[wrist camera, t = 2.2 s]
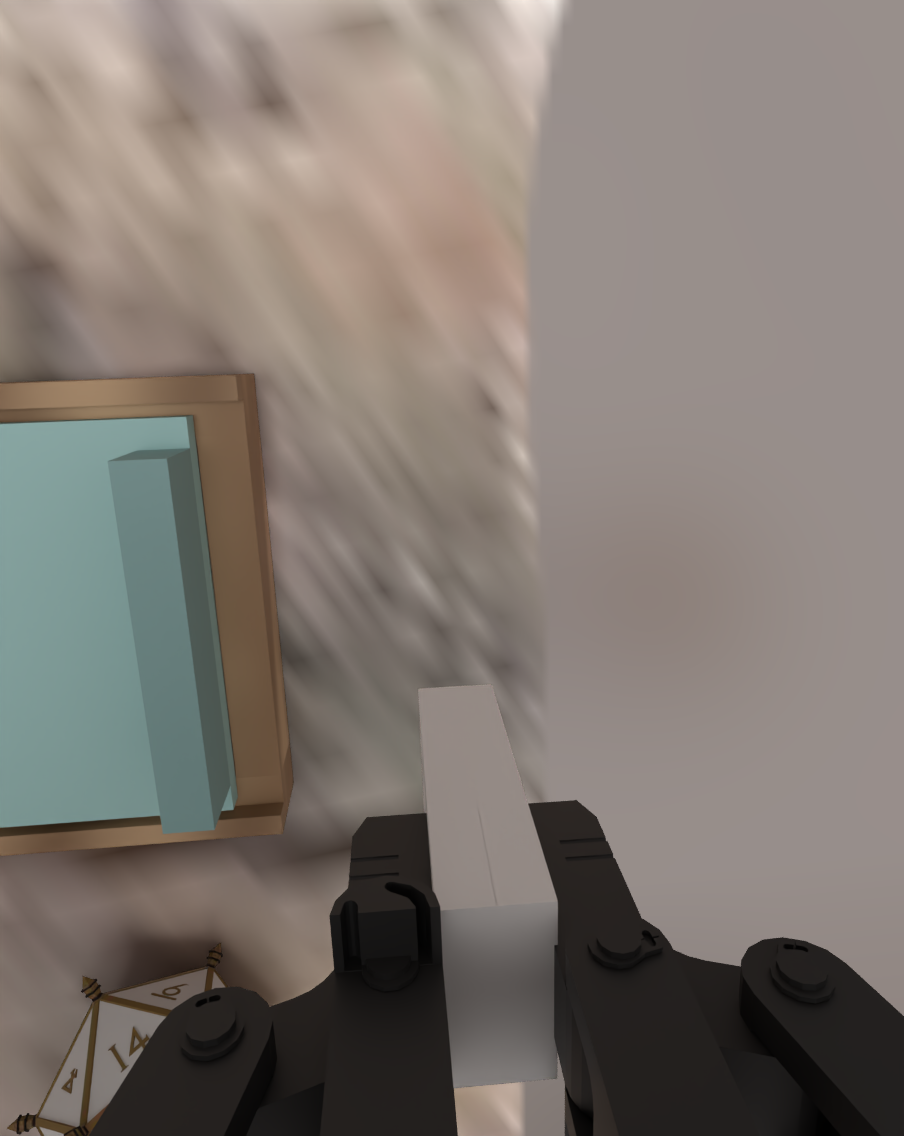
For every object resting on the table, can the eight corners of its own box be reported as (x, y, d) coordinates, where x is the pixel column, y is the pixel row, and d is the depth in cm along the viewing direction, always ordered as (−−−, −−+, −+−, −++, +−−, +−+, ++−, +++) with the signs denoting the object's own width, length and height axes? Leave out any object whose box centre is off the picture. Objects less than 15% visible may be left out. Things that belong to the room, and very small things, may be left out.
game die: (169, 916, 35) (-11, 954, 25) (345, 950, 32) (217, 1006, 23) (122, 1148, 32) (-95, 1283, 23) (309, 1203, 30) (150, 1379, 21)
